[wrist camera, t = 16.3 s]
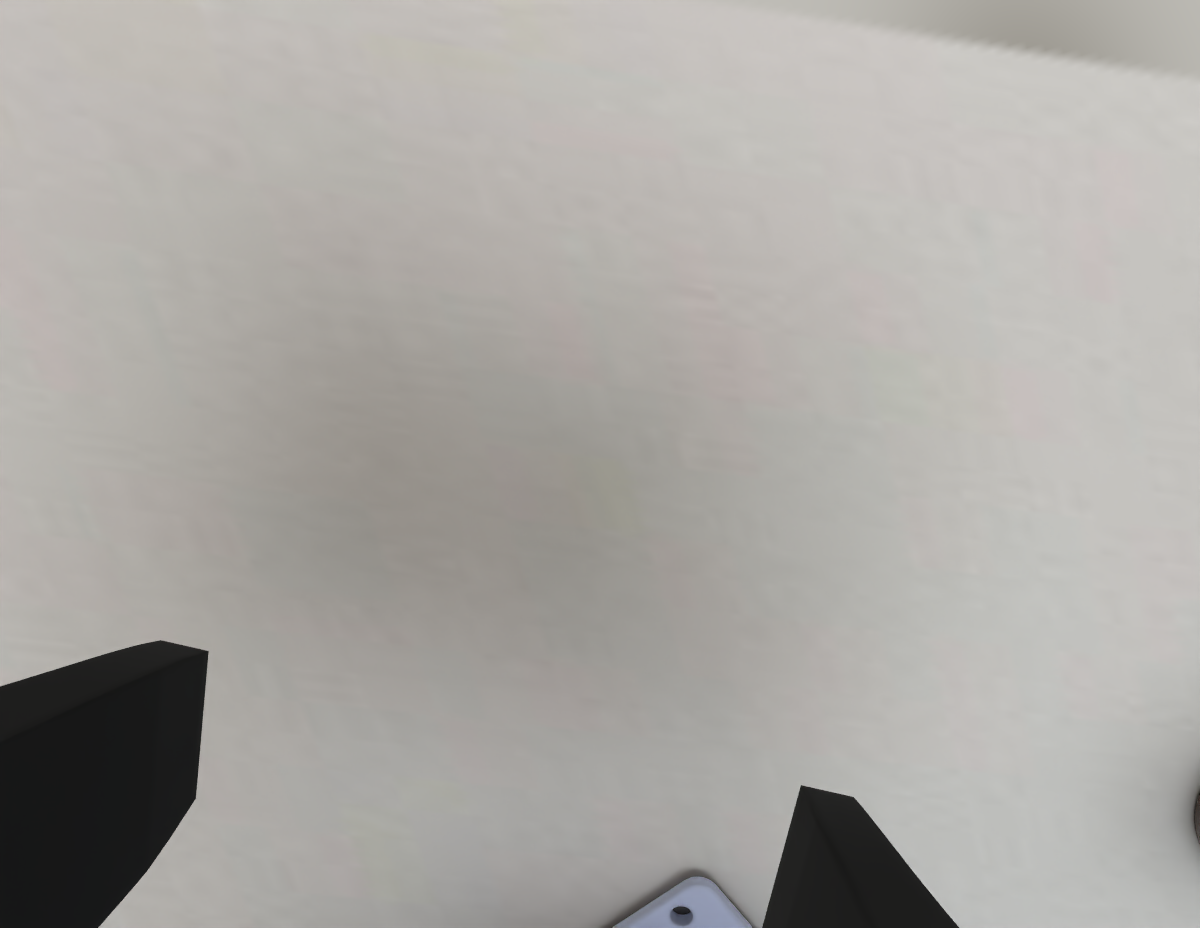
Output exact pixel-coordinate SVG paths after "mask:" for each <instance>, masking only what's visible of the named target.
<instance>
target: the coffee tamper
mask: <svg viewBox="0 0 1200 928" xmlns="http://www.w3.org/2000/svg"><path fill="white" fill-rule="evenodd" d="M1195 826H1196V833H1197V837H1198V840H1199V843H1200V795H1199V798H1198V801H1197V805H1196V810H1195Z"/></svg>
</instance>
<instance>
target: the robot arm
mask: <svg viewBox="0 0 1200 928" xmlns="http://www.w3.org/2000/svg"><path fill="white" fill-rule="evenodd" d="M207 662H208V651H205V650H201V649H197V648H192V647H188V646H183V645H179V644H174V643H170V642H166V641H161V640H160V641H155V642H150V643H145V644H141V645H137V646H133V647H129V648H125V649H122V650H118V651H115V652H111V653H108V654H104V655H101V656H98V657H94V658H91V659H88V660H85V661H81V662H78V663H75V664H72V665H68V666H65V667H62V668H59V669H56V670H52V671H49V672H46V673H43V674H39V675H36V676H33V677H30V678H26V679H23V680H20V681H17V682H14V683H10V684H7V685H4V686H1V687H0V928H98V927H99V926H100V925H101V924H102V923H103V922H104V920H105V919H106V918H107V917H108V916H109V915H110V913H111V912H112V911H113V910H114V909H115V908H116V907H117V905H118V904H119V903H120V902H121V901H122V900H123V899H124V897H125V896H126V895H127V894H128V893H129V892H130V890H131V889H132V888H133V887H134V886H135V885H136V883H137V882H138V881H139V880H140V879H141V878H142V876H143V875H144V874H145V873H146V872H147V870H148V869H149V868H150V866H151V865H152V863H153V862H154V860H155V859H156V857H157V856H158V855H159V853H160V852H161V850H162V849H163V847H164V846H165V845H166V843H167V842H168V840H169V839H170V837H171V836H172V834H173V833H174V831H175V830H176V828H177V827H178V825H179V823H180V822H181V820H182V819H183V817H184V816H185V814H186V813H187V811H188V810H189V808H190V807H191V805H192V803H193V802H194V800H195V799H196V790H197V778H198V766H199V755H200V743H201V732H202V720H203V709H204V697H205V685H206V674H207ZM678 906H683V907H687V908H688V909H689V910H691V912H690V913H688V914H685V915H681V914H677V913H676V912H674V911H673V908H675V907H678ZM612 928H753V927H752V926H751V925H750V924H749V922H748V921H747V920H746V919H745V918H744V917H743V916H742V914H741V913H740V912H739V911H738V910H737V909H736V907H735V906H734V905H733V904H732V903H731V902H730V900H729V899H728V898H727V897H726V896H725V895H724V893H723V892H722V891H721V890H720V889H719V888H718V887H717V885H716V884H715V883H713V882H712V881H711V880H710V879H707V878H704V877H701V876H700V877H691V878H688V879H686V880H684V881H682V882H681V883H679V884H678V885H676V886H675V887H673V888H672V889H670V890H669V891H667V892H666V893H664V894H663V895H661V896H660V897H658V898H656V899H655V900H653V901H652V902H650V903H649V904H647V905H646V906H644V907H643V908H641V909H640V910H638V911H637V912H635V913H634V914H632V915H631V916H629V917H627V918H626V919H624V920H623V921H621V922H620V923H618V924H617V925H615V926H614V927H612ZM762 928H959V927H958V926H957V925H956V923H955V922H954V921H953V920H952V919H951V918H950V916H949V915H948V914H947V913H946V912H945V910H944V909H943V908H942V907H941V906H940V904H939V903H938V902H937V901H936V899H935V898H934V897H933V896H932V895H931V893H930V892H929V891H928V890H927V888H926V887H925V886H924V885H923V883H922V882H921V881H920V880H919V878H918V877H917V876H916V875H915V873H914V872H913V871H912V870H911V868H910V867H909V866H908V865H907V863H906V862H905V861H904V859H903V858H902V857H901V856H900V854H899V853H898V852H897V851H896V849H895V848H894V847H893V845H892V844H891V843H890V842H889V840H888V839H887V838H886V836H885V835H884V834H883V833H882V831H881V830H880V829H879V827H878V826H877V825H876V824H875V822H874V821H873V820H872V819H871V817H870V816H869V815H868V814H867V812H866V811H865V810H864V809H863V807H862V806H861V805H860V804H859V803H858V802H857V800H856V799H855V798H854V797H850V796H846V795H842V794H837V793H833V792H828V791H824V790H820V789H815V788H811V787H806V786H802V785H801V787H800V791H799V795H798V798H797V802H796V806H795V809H794V813H793V817H792V820H791V824H790V828H789V831H788V835H787V839H786V842H785V846H784V850H783V853H782V857H781V861H780V864H779V868H778V872H777V875H776V879H775V883H774V886H773V890H772V894H771V897H770V901H769V905H768V908H767V912H766V916H765V919H764V923H763V927H762Z"/></svg>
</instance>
